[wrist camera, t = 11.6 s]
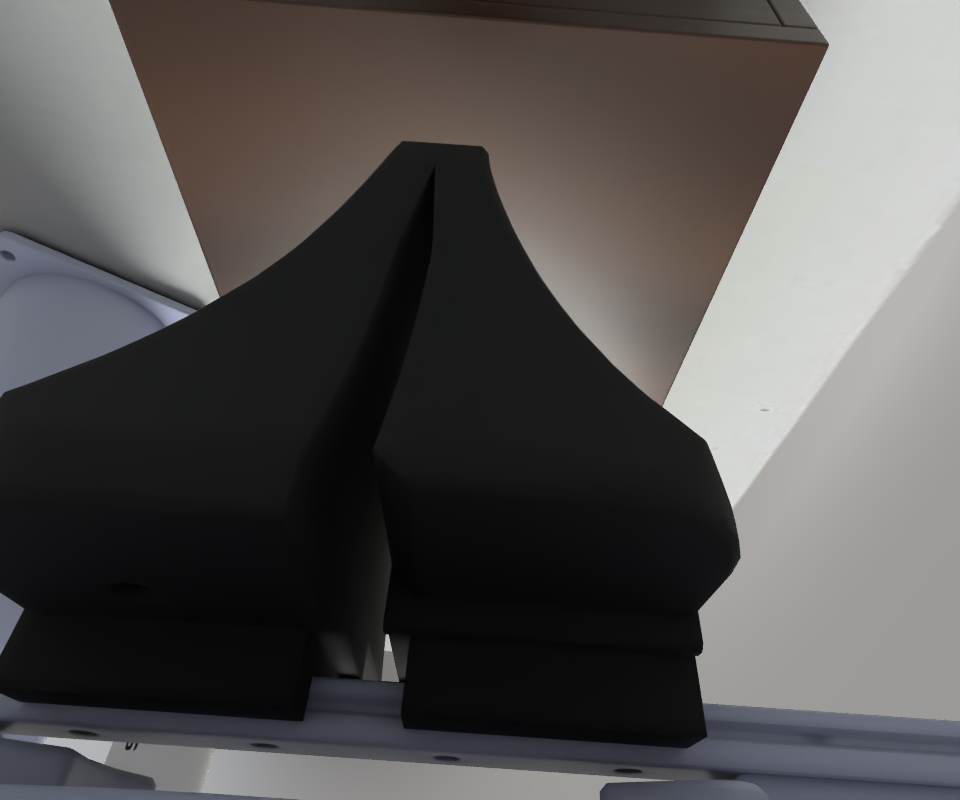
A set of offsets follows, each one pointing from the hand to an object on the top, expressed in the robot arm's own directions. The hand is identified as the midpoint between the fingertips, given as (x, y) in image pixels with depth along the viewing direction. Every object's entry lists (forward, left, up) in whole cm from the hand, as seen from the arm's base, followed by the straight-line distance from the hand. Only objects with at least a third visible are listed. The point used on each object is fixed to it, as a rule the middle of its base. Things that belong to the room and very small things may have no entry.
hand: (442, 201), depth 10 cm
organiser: (-5, -3, -10) cm, 12 cm away
